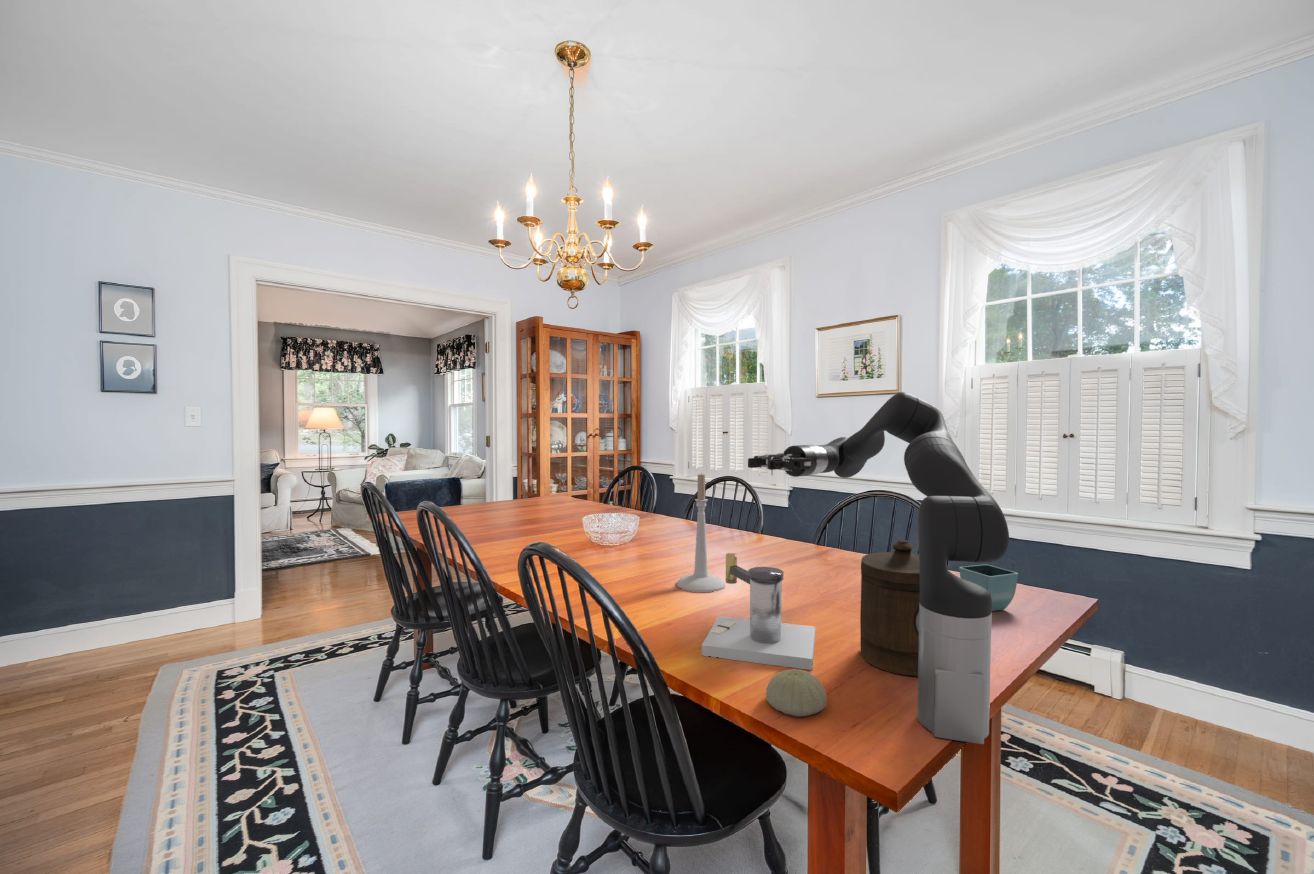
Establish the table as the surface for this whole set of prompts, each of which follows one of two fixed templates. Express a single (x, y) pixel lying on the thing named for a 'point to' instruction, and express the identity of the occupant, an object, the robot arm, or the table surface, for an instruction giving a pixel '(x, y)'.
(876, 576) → the wooden container
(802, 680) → the sea urchin shell
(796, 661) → the stand
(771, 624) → the capstan
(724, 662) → the table surface
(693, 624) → the table surface
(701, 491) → the candlestick
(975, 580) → the flower pot
